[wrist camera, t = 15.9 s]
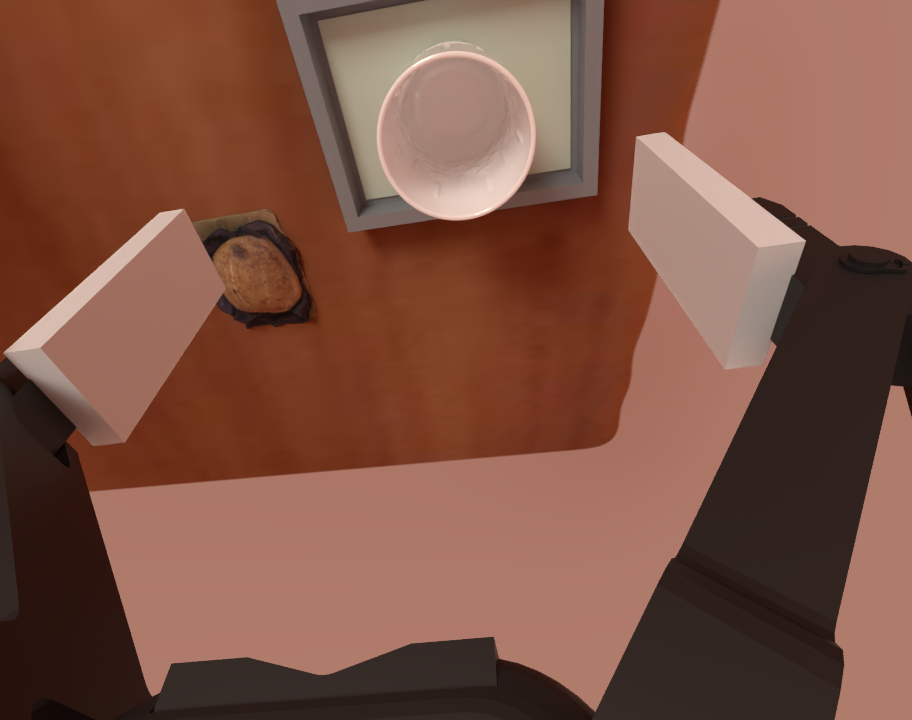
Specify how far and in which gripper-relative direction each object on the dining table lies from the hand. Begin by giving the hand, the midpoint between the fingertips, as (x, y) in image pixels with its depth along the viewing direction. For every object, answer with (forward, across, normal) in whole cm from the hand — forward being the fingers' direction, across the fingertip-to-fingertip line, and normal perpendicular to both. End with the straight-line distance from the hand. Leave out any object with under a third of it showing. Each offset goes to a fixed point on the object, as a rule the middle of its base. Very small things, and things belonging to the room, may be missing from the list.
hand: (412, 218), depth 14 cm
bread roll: (+23, -17, -12) cm, 31 cm away
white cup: (+22, +2, -1) cm, 22 cm away
